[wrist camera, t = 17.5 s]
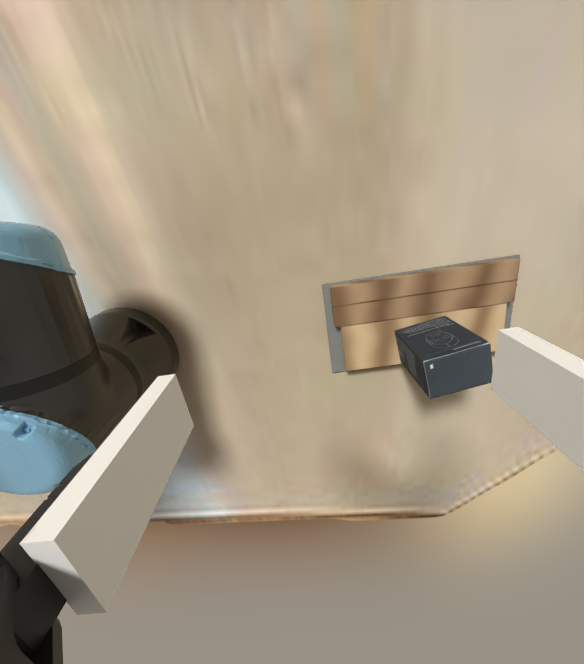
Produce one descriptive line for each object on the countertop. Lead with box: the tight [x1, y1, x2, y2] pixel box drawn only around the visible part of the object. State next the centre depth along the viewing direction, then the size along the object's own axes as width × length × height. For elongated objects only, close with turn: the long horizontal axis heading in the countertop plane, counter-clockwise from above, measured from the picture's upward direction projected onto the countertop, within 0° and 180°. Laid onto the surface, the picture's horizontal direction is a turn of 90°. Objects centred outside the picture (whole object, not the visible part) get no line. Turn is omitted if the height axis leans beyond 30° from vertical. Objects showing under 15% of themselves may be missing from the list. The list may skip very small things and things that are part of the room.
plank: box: [340, 303, 507, 371], centre depth 44 cm, size 24×8×2 cm, turn 99°
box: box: [394, 316, 493, 399], centre depth 39 cm, size 8×6×11 cm
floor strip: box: [329, 258, 520, 327], centre depth 42 cm, size 26×6×2 cm, turn 99°
